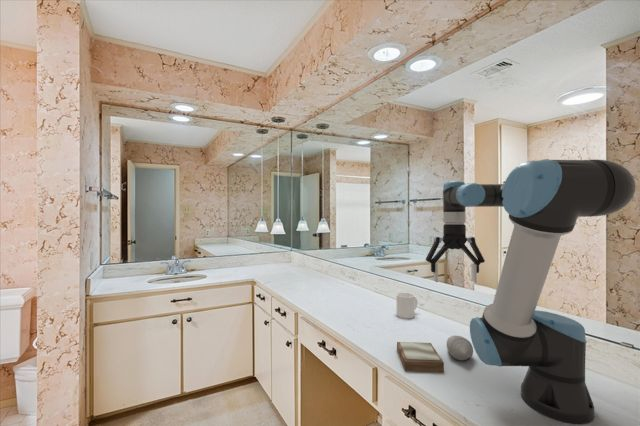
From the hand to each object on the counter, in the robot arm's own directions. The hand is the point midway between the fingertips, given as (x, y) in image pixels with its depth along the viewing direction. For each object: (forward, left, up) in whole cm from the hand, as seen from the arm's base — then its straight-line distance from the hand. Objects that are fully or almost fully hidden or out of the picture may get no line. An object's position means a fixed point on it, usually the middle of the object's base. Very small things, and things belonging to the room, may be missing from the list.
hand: (454, 281), depth 111 cm
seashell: (-4, +1, -25) cm, 25 cm away
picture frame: (-10, +15, -25) cm, 31 cm away
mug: (+34, +9, -25) cm, 43 cm away
